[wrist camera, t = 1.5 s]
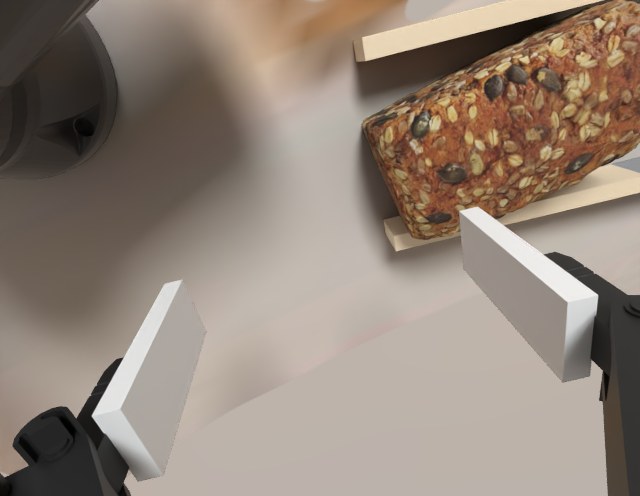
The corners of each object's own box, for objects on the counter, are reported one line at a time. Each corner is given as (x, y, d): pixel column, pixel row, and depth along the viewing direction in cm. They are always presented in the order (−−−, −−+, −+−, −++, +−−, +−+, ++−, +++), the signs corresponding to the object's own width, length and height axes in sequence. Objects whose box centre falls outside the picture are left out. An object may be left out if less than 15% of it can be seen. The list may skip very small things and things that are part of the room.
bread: (564, 7, 31) (680, -18, 22) (583, 132, 35) (686, 155, 26) (350, 115, 33) (375, 133, 24) (394, 219, 37) (428, 268, 28)
